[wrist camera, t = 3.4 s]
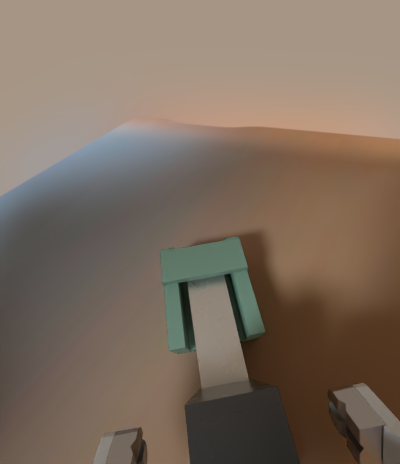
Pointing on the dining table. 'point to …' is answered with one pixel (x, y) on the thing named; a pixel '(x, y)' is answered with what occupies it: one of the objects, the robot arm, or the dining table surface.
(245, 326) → the green slotted block
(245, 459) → the two-tone rectangular rod
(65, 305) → the dining table surface
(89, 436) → the dining table surface
